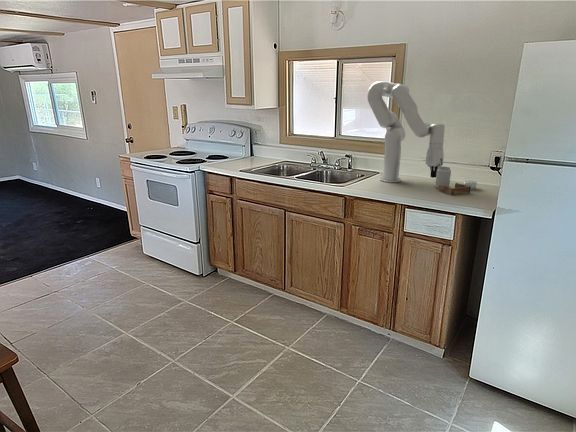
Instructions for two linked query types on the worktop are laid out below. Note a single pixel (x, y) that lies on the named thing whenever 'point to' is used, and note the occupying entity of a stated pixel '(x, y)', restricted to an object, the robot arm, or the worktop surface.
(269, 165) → the worktop surface
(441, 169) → the can
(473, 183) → the white small piece
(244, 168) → the worktop surface
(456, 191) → the bay
